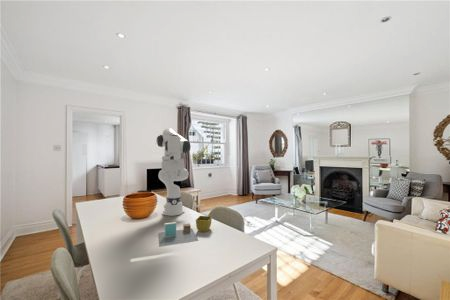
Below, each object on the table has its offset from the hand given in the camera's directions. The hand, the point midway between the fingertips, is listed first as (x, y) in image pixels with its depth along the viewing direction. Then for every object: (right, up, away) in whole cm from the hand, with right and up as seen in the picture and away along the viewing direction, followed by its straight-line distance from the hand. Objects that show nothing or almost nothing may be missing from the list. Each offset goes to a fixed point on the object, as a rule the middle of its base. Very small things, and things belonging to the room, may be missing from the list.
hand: (173, 177), depth 136 cm
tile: (+1, -34, -14) cm, 37 cm away
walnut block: (+10, -35, -6) cm, 36 cm away
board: (+6, -36, -15) cm, 39 cm away
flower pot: (+21, -36, -4) cm, 42 cm away
